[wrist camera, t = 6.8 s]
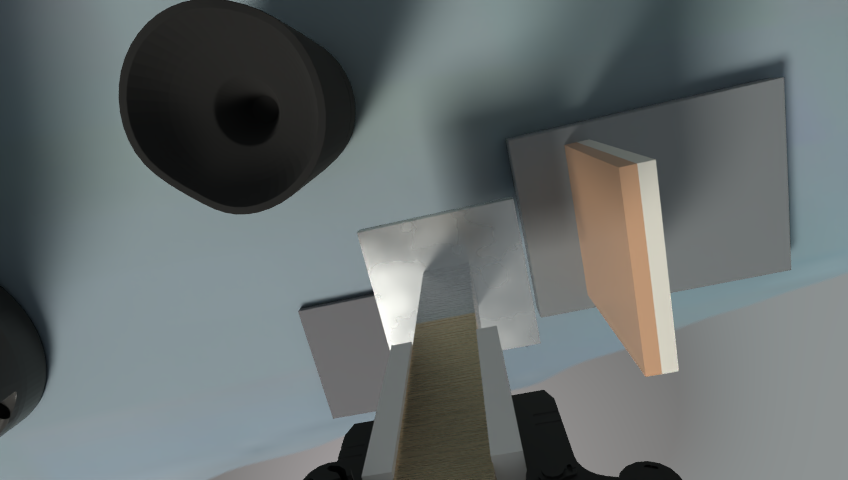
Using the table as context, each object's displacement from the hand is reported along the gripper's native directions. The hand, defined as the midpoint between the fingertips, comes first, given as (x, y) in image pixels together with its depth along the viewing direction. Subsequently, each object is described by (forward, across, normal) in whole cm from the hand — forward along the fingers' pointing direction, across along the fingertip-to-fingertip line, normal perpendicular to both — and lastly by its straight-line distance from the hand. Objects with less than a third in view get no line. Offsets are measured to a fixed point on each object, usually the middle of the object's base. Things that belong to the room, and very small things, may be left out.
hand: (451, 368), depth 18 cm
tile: (+15, +9, 0) cm, 17 cm away
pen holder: (+17, -8, +11) cm, 21 cm away
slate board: (+16, +13, 0) cm, 21 cm away
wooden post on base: (+9, 0, 0) cm, 9 cm away
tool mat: (+16, -6, -7) cm, 19 cm away
